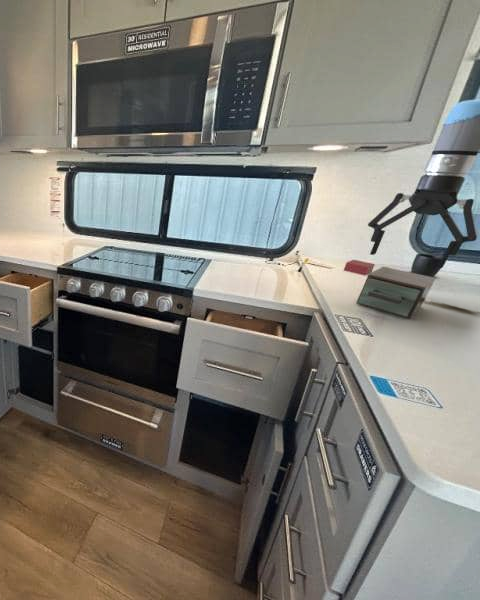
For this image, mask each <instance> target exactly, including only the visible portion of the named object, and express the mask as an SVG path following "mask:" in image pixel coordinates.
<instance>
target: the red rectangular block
mask: <svg viewBox="0 0 480 600" xmlns="http://www.w3.org/2000/svg"><path fill="white" fill-rule="evenodd" d="M375 265H376V264H375V263H371V262H367V261H362V260H358V259H351V260H349V261H346V263H345V265H344V268H343V271H345V272H349V273H353V274H357V275H362V276H368V275H369V274H370V273H372V272H373V270H374V267H375Z"/></svg>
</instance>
